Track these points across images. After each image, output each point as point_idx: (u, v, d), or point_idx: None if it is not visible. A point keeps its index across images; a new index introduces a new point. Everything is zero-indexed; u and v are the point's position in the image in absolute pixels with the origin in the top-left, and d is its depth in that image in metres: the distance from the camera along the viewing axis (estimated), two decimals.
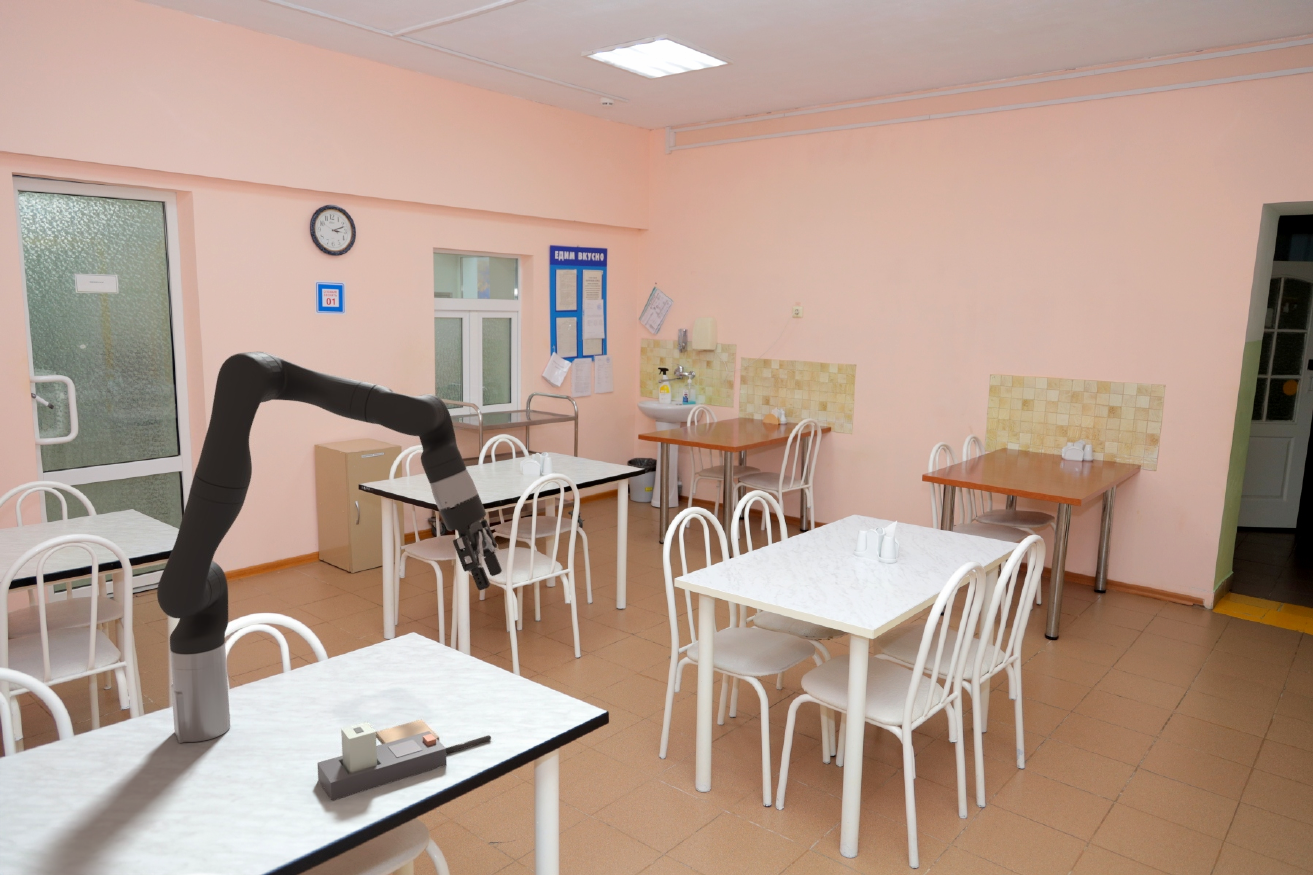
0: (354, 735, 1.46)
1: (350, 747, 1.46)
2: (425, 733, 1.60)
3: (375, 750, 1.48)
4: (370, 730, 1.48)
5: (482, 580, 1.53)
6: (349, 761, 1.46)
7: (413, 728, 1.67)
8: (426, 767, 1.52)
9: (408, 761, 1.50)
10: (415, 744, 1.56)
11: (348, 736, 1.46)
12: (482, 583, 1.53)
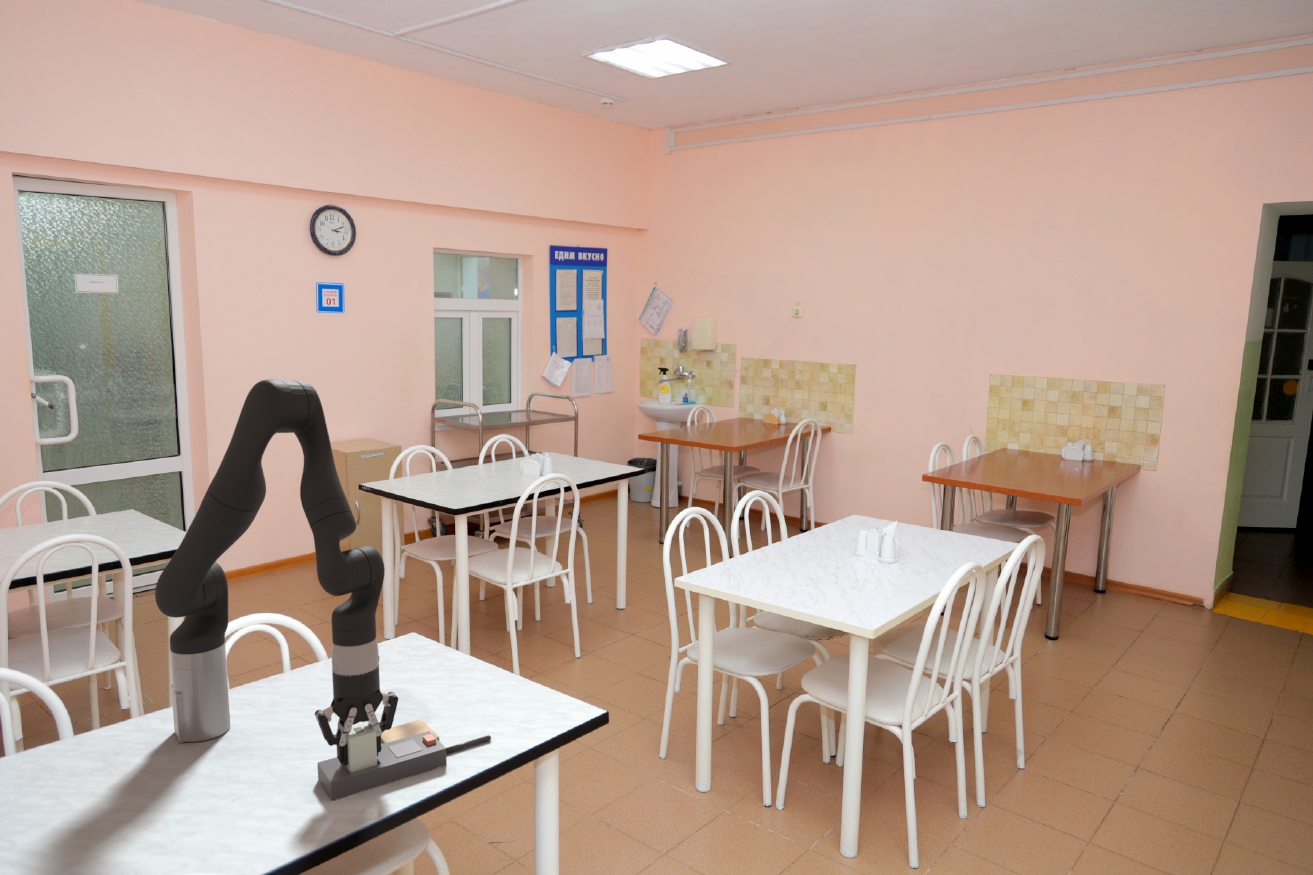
0: (354, 735, 1.46)
1: (350, 747, 1.46)
2: (425, 733, 1.60)
3: (375, 750, 1.48)
4: (370, 730, 1.48)
5: (339, 757, 1.46)
6: (349, 761, 1.46)
7: (413, 728, 1.67)
8: (426, 767, 1.52)
9: (408, 761, 1.50)
10: (415, 744, 1.56)
11: (348, 736, 1.46)
12: (339, 759, 1.47)
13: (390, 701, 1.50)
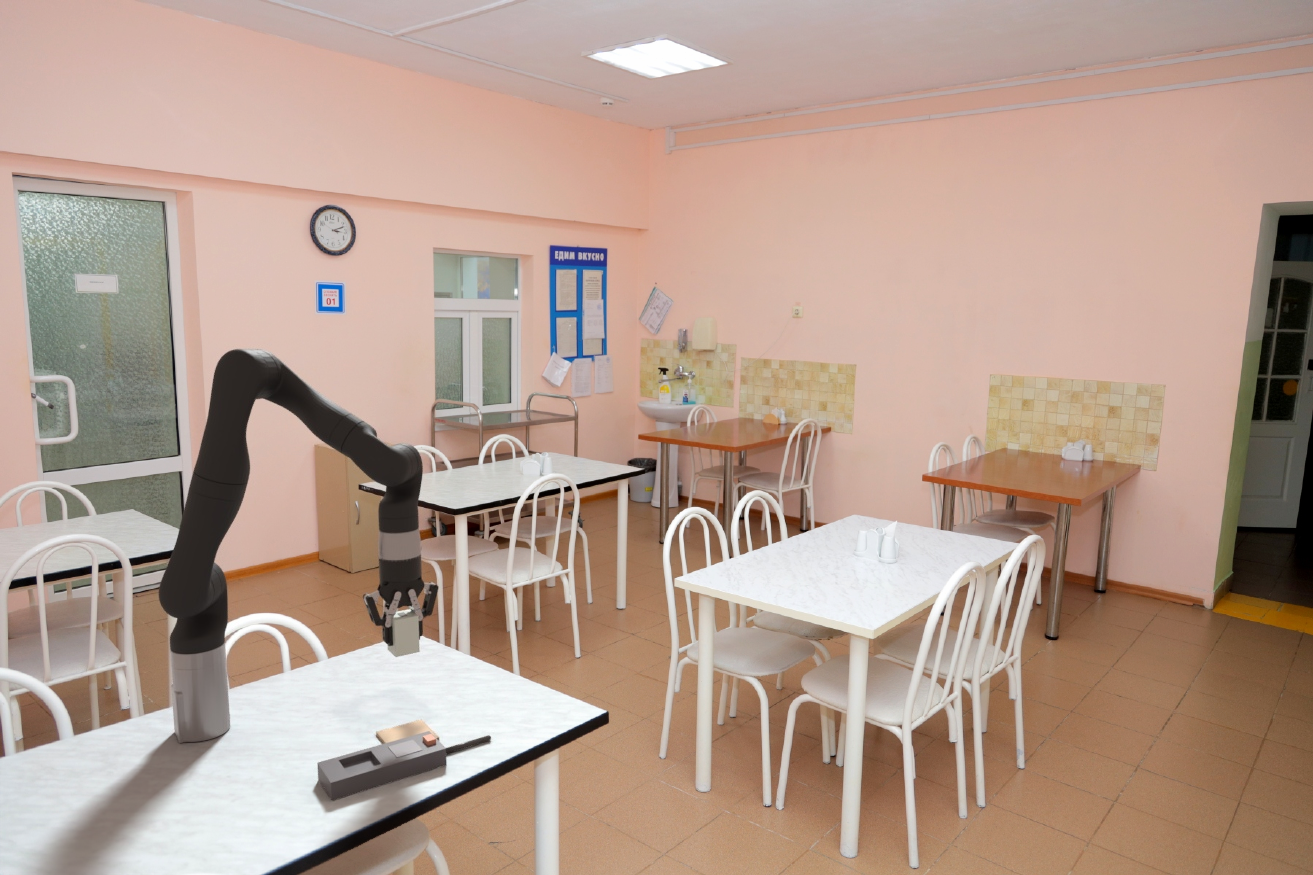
0: (399, 618, 1.59)
1: (395, 628, 1.58)
2: (425, 733, 1.60)
3: (417, 633, 1.60)
4: (412, 615, 1.60)
5: (385, 637, 1.59)
6: (394, 641, 1.59)
7: (413, 728, 1.67)
8: (426, 767, 1.52)
9: (408, 761, 1.50)
10: (415, 744, 1.56)
11: (393, 618, 1.58)
12: (384, 640, 1.59)
13: (431, 589, 1.63)
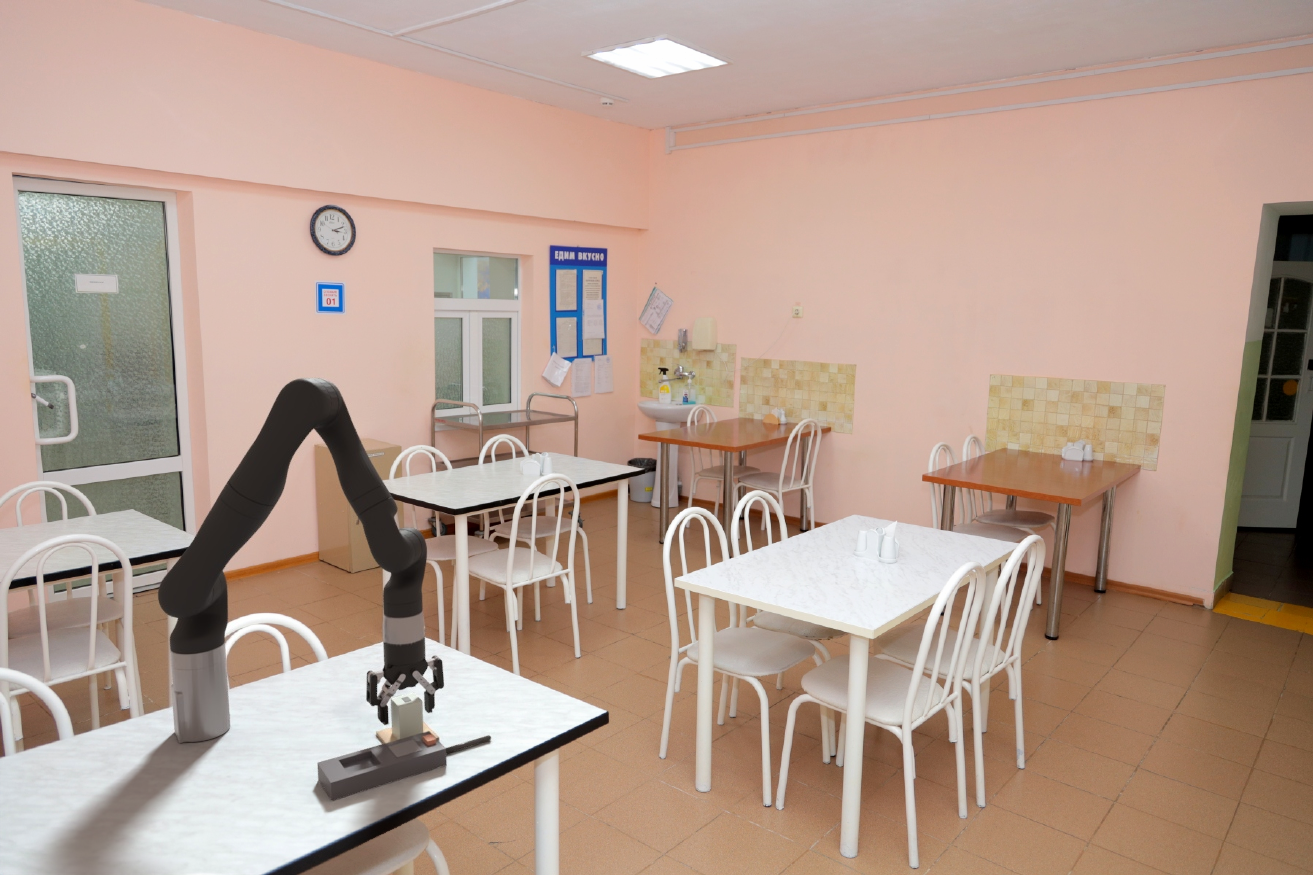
0: (403, 704, 1.62)
1: (399, 714, 1.61)
2: (425, 733, 1.60)
3: (421, 717, 1.63)
4: (416, 700, 1.63)
5: (380, 717, 1.60)
6: (398, 727, 1.61)
7: None
8: (426, 767, 1.52)
9: (408, 761, 1.50)
10: (415, 744, 1.56)
11: (397, 704, 1.61)
12: (379, 719, 1.61)
13: (435, 664, 1.65)
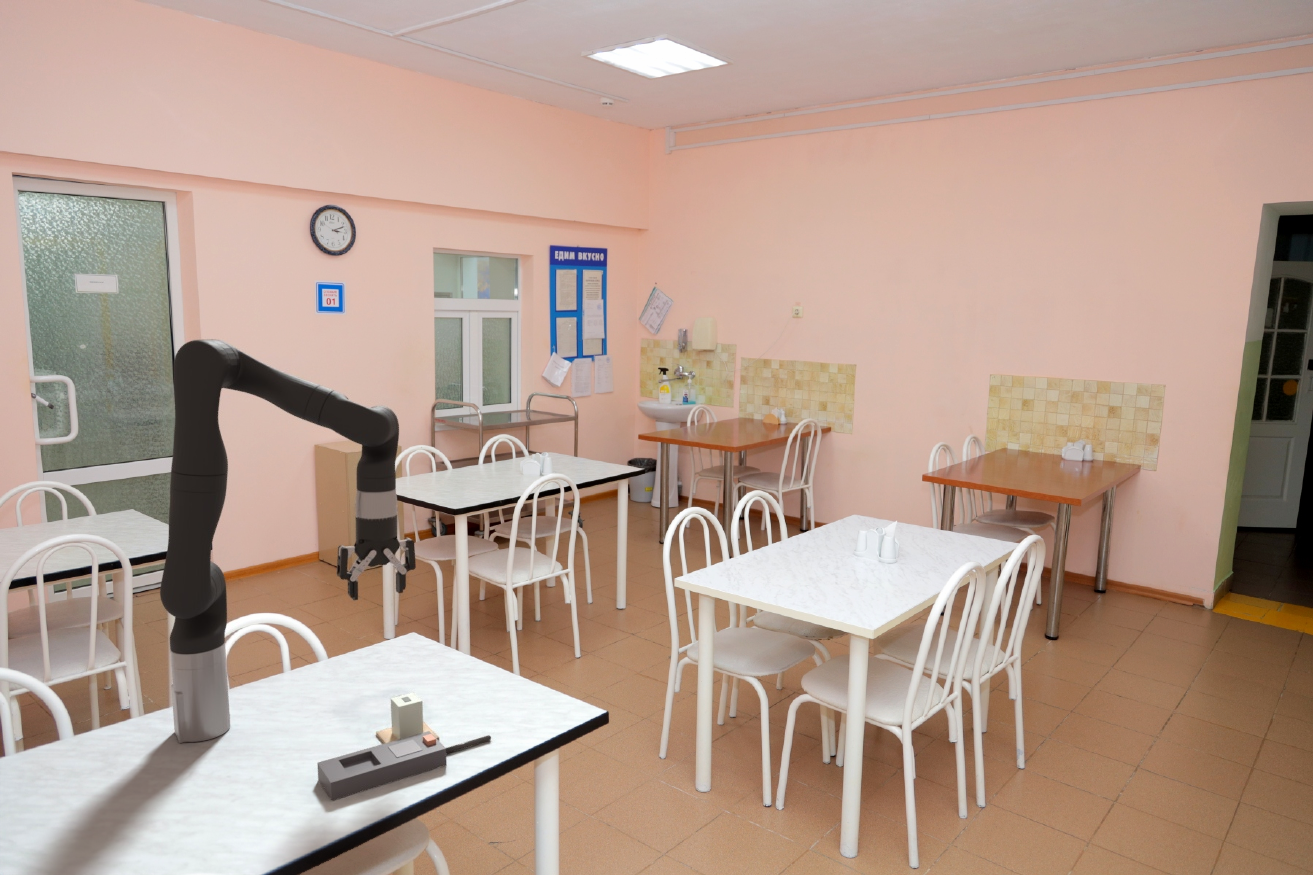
0: (403, 704, 1.62)
1: (399, 714, 1.61)
2: (425, 733, 1.60)
3: (421, 717, 1.63)
4: (416, 700, 1.63)
5: (349, 591, 1.62)
6: (398, 727, 1.61)
7: None
8: (426, 767, 1.52)
9: (408, 761, 1.50)
10: (415, 744, 1.56)
11: (397, 704, 1.61)
12: (349, 594, 1.62)
13: (407, 545, 1.66)
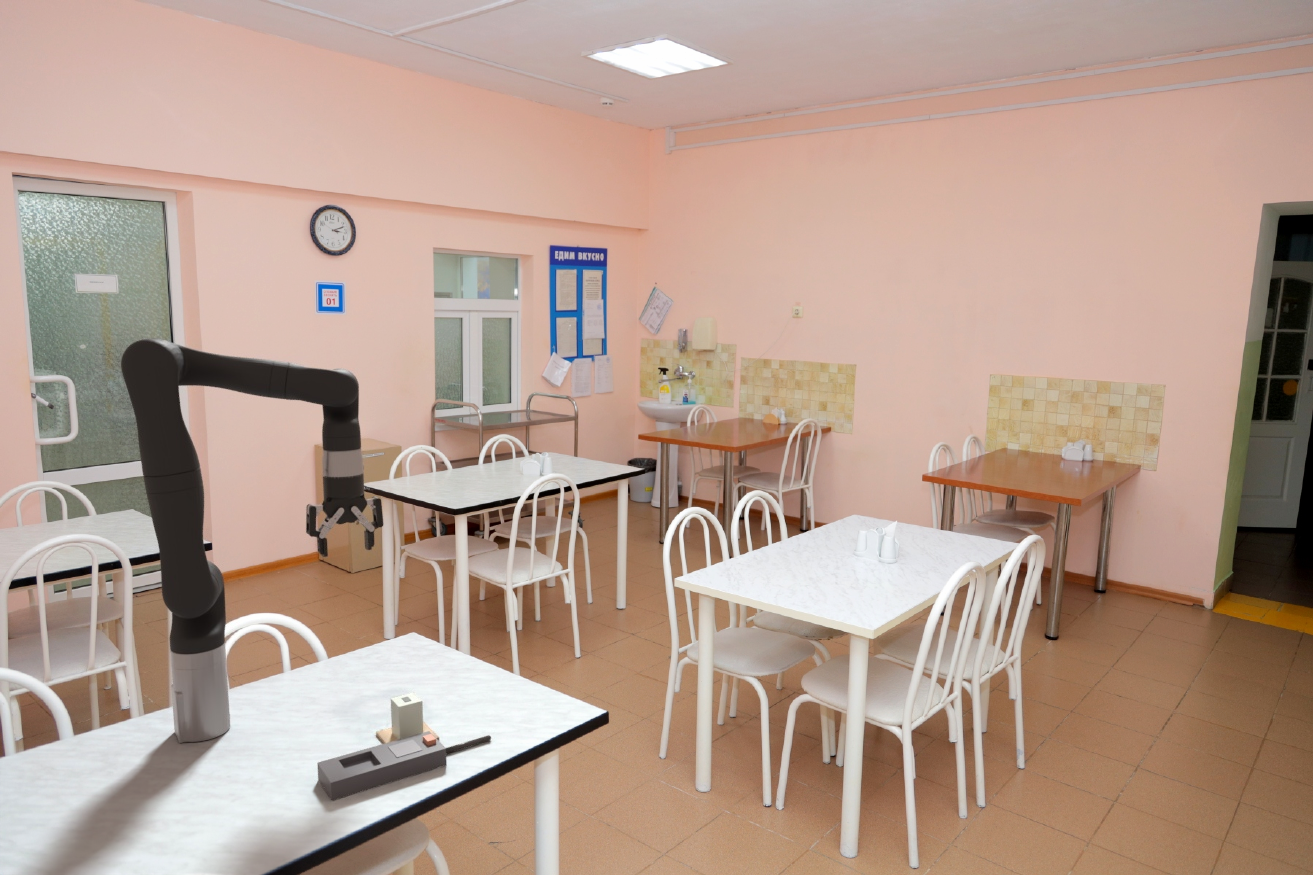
0: (403, 704, 1.62)
1: (399, 714, 1.61)
2: (425, 733, 1.60)
3: (421, 717, 1.63)
4: (416, 700, 1.63)
5: (319, 548, 1.67)
6: (398, 727, 1.61)
7: None
8: (426, 767, 1.52)
9: (408, 761, 1.50)
10: (415, 744, 1.56)
11: (397, 704, 1.61)
12: (319, 551, 1.67)
13: (374, 503, 1.72)
